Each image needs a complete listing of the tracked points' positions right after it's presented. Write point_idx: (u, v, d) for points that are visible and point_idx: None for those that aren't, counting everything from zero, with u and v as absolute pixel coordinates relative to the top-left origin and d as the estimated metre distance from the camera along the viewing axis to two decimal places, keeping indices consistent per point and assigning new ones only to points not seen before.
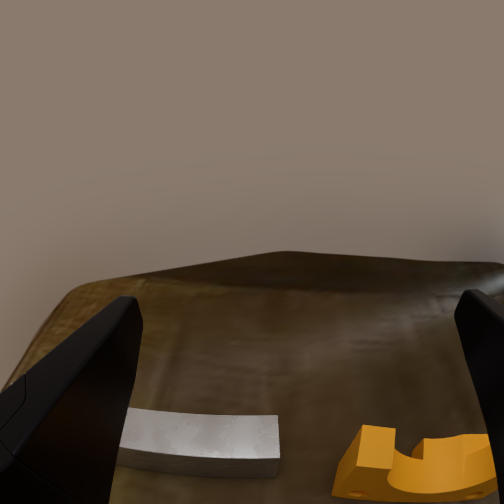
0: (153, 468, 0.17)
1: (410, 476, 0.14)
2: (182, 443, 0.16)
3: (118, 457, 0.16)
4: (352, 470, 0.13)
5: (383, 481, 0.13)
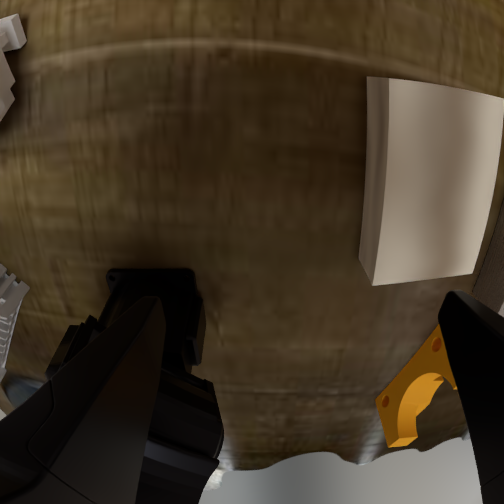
0: None
1: (429, 376, 0.26)
2: None
3: None
4: None
5: (443, 373, 0.23)
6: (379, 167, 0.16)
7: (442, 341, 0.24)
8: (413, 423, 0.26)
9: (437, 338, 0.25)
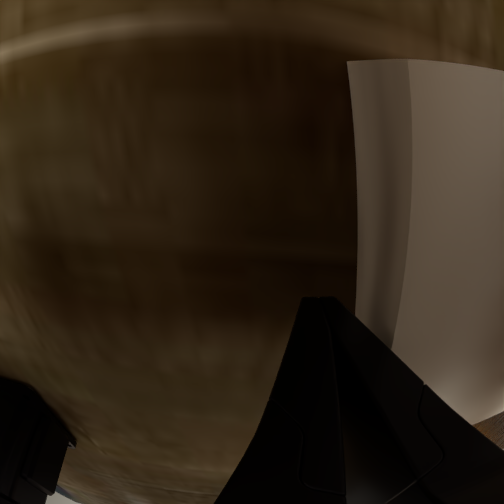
0: None
1: None
2: None
3: None
4: None
5: None
6: (381, 300, 0.07)
7: None
8: None
9: None
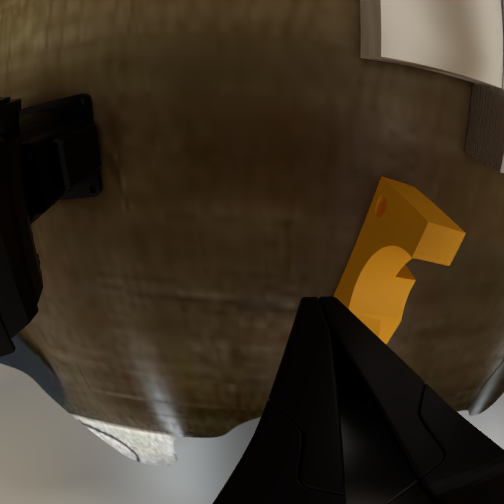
0: None
1: (384, 263, 0.19)
2: None
3: None
4: (421, 214, 0.14)
5: (395, 241, 0.16)
6: None
7: (387, 197, 0.17)
8: None
9: (383, 200, 0.18)
